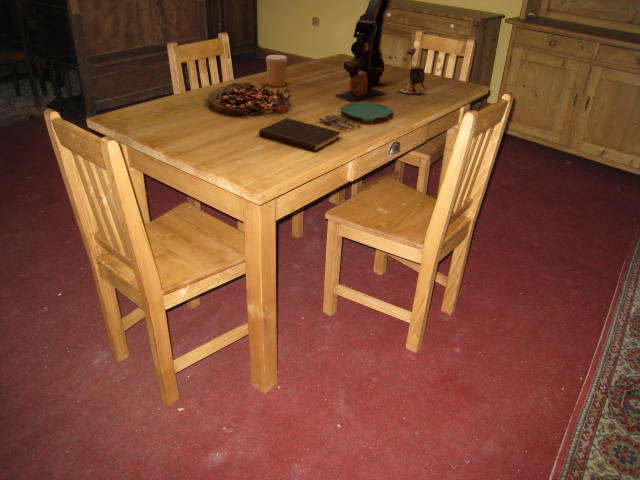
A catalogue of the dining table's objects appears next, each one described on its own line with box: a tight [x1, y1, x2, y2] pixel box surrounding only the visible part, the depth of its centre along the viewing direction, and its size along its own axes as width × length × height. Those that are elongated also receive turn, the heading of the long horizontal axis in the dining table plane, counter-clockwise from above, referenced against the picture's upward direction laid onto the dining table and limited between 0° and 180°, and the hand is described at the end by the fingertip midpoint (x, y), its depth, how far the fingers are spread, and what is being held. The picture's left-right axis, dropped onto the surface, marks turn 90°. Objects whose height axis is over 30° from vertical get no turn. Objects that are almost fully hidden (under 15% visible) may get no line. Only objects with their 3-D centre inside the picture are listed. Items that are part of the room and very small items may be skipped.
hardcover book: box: [258, 117, 341, 152], centre depth 177 cm, size 16×23×2 cm
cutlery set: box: [318, 101, 394, 131], centre depth 196 cm, size 20×30×2 cm, turn 134°
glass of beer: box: [265, 54, 288, 88], centre depth 229 cm, size 9×9×12 cm
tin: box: [349, 72, 375, 96], centre depth 221 cm, size 15×3×8 cm, turn 139°
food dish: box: [206, 82, 293, 117], centre depth 205 cm, size 35×33×8 cm
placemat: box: [335, 89, 386, 103], centre depth 223 cm, size 20×10×1 cm, turn 130°
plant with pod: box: [399, 45, 426, 95], centre depth 223 cm, size 8×11×20 cm
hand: (361, 89), depth 222 cm, fingers open, 9 cm apart
